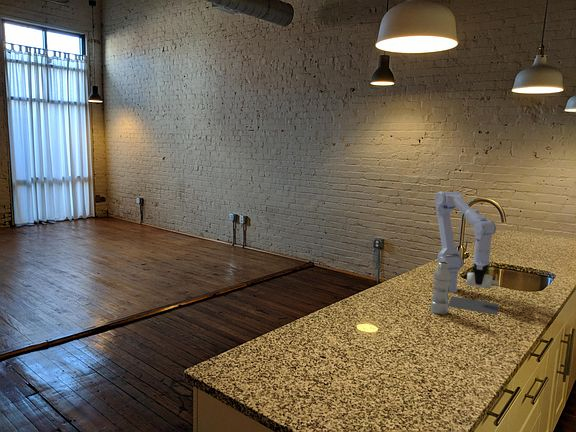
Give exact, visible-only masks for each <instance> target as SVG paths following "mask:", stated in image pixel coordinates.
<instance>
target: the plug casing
mask: <svg viewBox="0 0 576 432" xmlns="http://www.w3.org/2000/svg"><path fill="white" fill-rule="evenodd" d="M466 275H467V276H466V285H467V286H470V287H476V288H483V289H491V288H492V285H496V286H499V282H500V281H499V280H495V279H493V275H491V274H487V273H485V275H484V278H483V282H482V284H481V285H478V284H476V283H475V274H474V271H473V272H467V274H466Z"/></svg>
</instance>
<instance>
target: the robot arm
mask: <svg viewBox="0 0 576 432" xmlns="http://www.w3.org/2000/svg"><path fill="white" fill-rule="evenodd" d="M434 203H435V209H436V217H437V221H438V222H437V223H438V229H439V236H440V242H441V250H440V251H439V252H438V253H437V265H438V263H439V262H448V263H449V268H448V270H449V272H450V273H451V276H452V280H451V283H450V287H449V292H451V293H455V294H457V291H458V290H459V287H458V286H457V285H458V276H459V275H458V274H459V272H460V271H461V269H462V268H463V266H464V261H463V258H462V255H461V252H460V251H459V250H458V249H457V248H455V247H456V246H455V240H454V234H453V228H452V227H453V226H452V220H451V213H452V211H454V210H455V209H458V211H460V212H461V213H462V214H463V215H464V220H466V221H467V222H468V224H469V225H471V227H472V229H473V233H474V238H475V245H474V252H473V253H474V254H473V260H472V262H473V265H472V267H471V269H472V270H473V273H474V274H475V283H476V284H478V285H481V284H482V282H483V278H484V275H485V274H487V272H488V270H489V269H488V268H489V265H493V262H492V261H490V257H491V247H492V235H494V234H495V233H496V230H497V225H496V223H495V222H494V220H492V219H490V220H489V219H487V218H486V217H485V216H483V215H482V214H481V213H480V210H479V209H476V208H475V209H474V208H473V209H472V207H470V206H469V205H468V204H467V202H466V201H465V200H464V198H463V195H462V194H461V193H460V192H459V191H438V192H437V193H436V195H435V197H434ZM437 269H438V268H436V270H437ZM436 270H435V271H436Z"/></svg>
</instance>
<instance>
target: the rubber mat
mask: <svg viewBox="0 0 576 432" xmlns="http://www.w3.org/2000/svg"><path fill="white" fill-rule="evenodd" d="M448 303H449V308H455V309H456V308H457V309H461V310H466V311H473V312H478V313H482V314H489V315H496V316H498V313H499V303H494V302H489V301H484V300H476V299H471V298H465V297H459V296H453V295H451V298H450V300H449V301H448Z"/></svg>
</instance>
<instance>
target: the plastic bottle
mask: <svg viewBox="0 0 576 432" xmlns="http://www.w3.org/2000/svg"><path fill="white" fill-rule="evenodd" d="M437 267H438V268H436V269H437V270H435V272H434V273H433V292H432V293H433V294H432V298H431V302H430V307H429V308H430V310H431V312H432V313H433V314H436V315H446V314H447V313H448V312H449V309H450V307H449V287H450V283H451V280H452V276H451V273H450V272H449V270H448V268H449V263H448V262H439V263H438V264H437Z"/></svg>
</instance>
